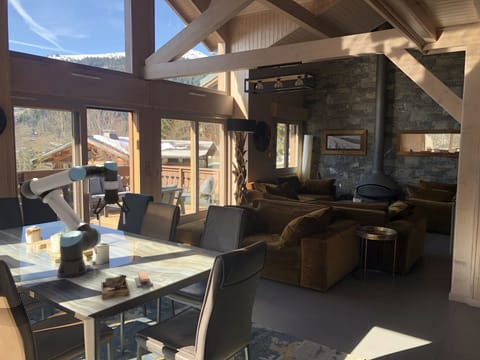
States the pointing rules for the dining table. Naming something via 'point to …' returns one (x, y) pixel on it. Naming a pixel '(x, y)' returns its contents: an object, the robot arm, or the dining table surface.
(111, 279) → the rock
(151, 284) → the checker base
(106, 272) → the dining table surface
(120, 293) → the tray
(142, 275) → the checker pad
